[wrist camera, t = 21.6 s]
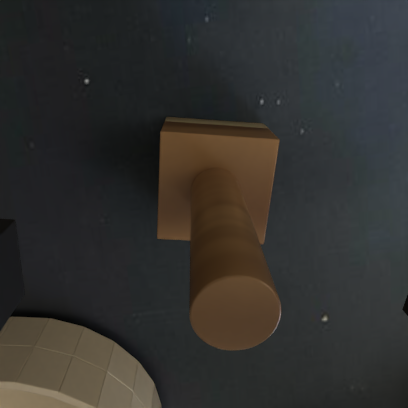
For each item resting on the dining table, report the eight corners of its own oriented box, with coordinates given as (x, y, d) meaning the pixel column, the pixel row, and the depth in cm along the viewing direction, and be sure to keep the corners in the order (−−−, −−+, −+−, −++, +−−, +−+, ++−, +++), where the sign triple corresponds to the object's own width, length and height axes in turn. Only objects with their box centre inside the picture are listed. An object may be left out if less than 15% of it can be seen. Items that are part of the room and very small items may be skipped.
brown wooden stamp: (166, 116, 23) (127, 211, 9) (264, 123, 23) (364, 224, 10) (162, 207, 25) (128, 391, 11) (252, 212, 25) (320, 397, 12)
